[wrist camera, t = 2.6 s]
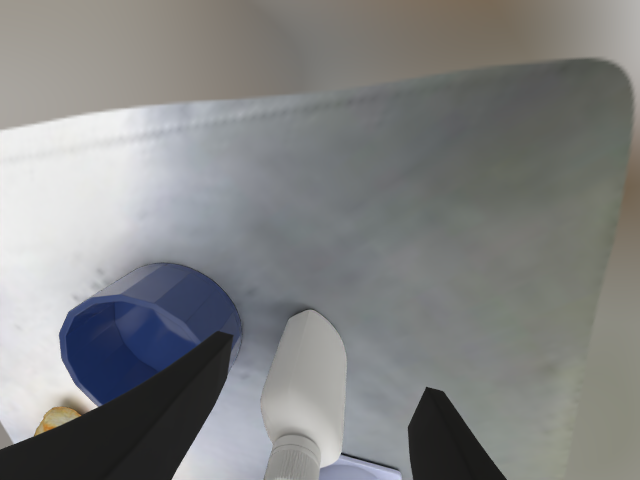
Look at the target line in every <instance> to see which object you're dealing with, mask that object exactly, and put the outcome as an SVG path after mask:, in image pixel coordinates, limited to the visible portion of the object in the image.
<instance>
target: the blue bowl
mask: <svg viewBox="0 0 640 480" xmlns="http://www.w3.org/2000/svg"><path fill="white" fill-rule="evenodd" d="M216 331H220V332H224V333H228V334H231V335H233V342H232V349H231V355H230V362H229V368H228V373H229V371H230V369H231V367H232V365H233V363H234V361H235V360H236V358H237V354H238V351H239V349H240V345H241V341H242V326H241V322H240V318H239V315H238V312H237V310H236V308H235V306H234V304H233V302H232V301H231V300H230V298H229V297H228V295H227V294H226V293H225V292H224V291H223V290H222V289H221V288H220V287H219V286H218V285H217V284H216V283H215V282H214V281H212V280H211V279H210V278H208V277H207V276H205V275H203V274H202V273H200V272H198V271H196V270H193V269H191V268H188V267H185V266H182V265H177V264H170V263H155V264H150V265H146V266H143V267H140V268H137V269H135V270H134V271H132V272H130V273H129V274H127V275H126V276H124V277H122V278H121V279H119V280H117V281H116V282H114V283H113V284H111V285H109V286H108V287H106V288H105V289H103V290H101V291H100V292H98V293H96V294H95V295H93V296H92V297H90V298H88V299H87V300H85V301H84V302H82V303H81V304H79V305H78V306H76V307H75V308H73V309H72V310H70V311H69V312H68V314H67V317H66V319H65V321H64V323H63V326H62V328H61V330H60V333H59V340H60V349H61V359H62V361H63V363H64V365H65V367H66V368H67V370H68V372H69V374H70V376H71V378H72V380H73V382H74V383H75V385H76V386H77V387H78V388H79V389H80V390H81V391H82V392H83V393H84V394H85V395H86V396H87V397H88V398H89V399H90V400H91V401H92V402H93V403H94V404H95V405H97V406H98V407H100V406H102V405H104V404H106V403H107V402H109V401H111V400H113V399H115V398H117V397H119V396H120V395H122V394H124V393H126V392H128V391H129V390H131V389H133V388H134V387H136V386H138V385H140V384H141V383H143V382H144V381H146V380H148V379H149V378H151V377H152V376H154V375H156V374H157V373H159V372H160V371H162V370H163V369H165V368H166V367H168V366H169V365H171V364H172V363H174V362H175V361H177V360H178V359H179V358H181V357H182V356H184V355H185V354H187V353H188V352H189V351H191V350H192V349H193V348H195V347H196V346H197V345H199V344H200V343H201V342H203V341H204V340H205V339H207V338H208V337H209V336H211V335H212V334H213V333H215V332H216Z"/></svg>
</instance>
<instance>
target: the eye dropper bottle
mask: <svg viewBox="0 0 640 480" xmlns="http://www.w3.org/2000/svg"><path fill="white" fill-rule="evenodd" d="M346 374H347V357H346V351H345V348H344V344H343V342H342V339H341V337H340V336H339V334H338V332H337V331H336V329H335V328H334V327H333V326H332V324H331V323H330V322H329V321H328V320H327V319H326V318H324V317H323V316H322V315H321V314H319V313H318V312H316V311H314V310H306V311H303V312H301V313H299V314H297V315H294V316H292V317H291V318H290V319H289V320H288V321H287V324H286V327H285V329H284V332H283V335H282V338H281V340H280V343H279V346H278V348H277V351H276V354H275V357H274V359H273V362H272V365H271V368H270V370H269V373H268V376H267V379H266V382H265V385H264V388H263V391H262V395H261V412H262V417H263V421H264V425H265V428H266V431H267V433H268V436H269V438H270V440H271V442H272V444H273V447H272V451H271V454H270V458H269V462H268V465H267V469H266V473H265V476H264V480H319V472H320V468H322V467H326V466H328V465H331V464H333V463H334V462H336V461H337V460H338V458H339V456H340V454H341V451H342V444H343V431H344V413H345V394H346Z"/></svg>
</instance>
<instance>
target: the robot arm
mask: <svg viewBox="0 0 640 480" xmlns="http://www.w3.org/2000/svg"><path fill="white" fill-rule="evenodd" d="M232 342H233V335H231V334H228V333H224V332H220V331H216V332H215V333H213V334H212V335H211V336H209V337H208V338H207V339H205V340H204V341H203V342H201V343H200V344H199V345H197V346H196V347H195V348H193V349H192V350H191V351H189V352H188V353H187V354H185V355H184V356H182V357H181V358H179V359H178V360H177V361H175V362H174V363H172V364H171V365H169V366H168V367H166V368H165V369H163V370H162V371H160V372H159V373H157V374H156V375H154V376H152V377H151V378H149V379H148V380H146V381H144V382H143V383H141V384H140V385H138V386H136V387H134V388H133V389H131V390H129V391H128V392H126V393H124V394H122V395H120V396H119V397H117V398H115V399H113V400H111V401H109V402H107V403H106V404H104V405H102V406H100V407H98V408H96V409H93V410H91V411H89V412H87V413H85V414H83V415H81V416H79V417H77V418H75V419H73V420H71V421H69V422H66V423H64V424H62V425H60V426H57V427H55V428H53V429H50V430H48V431H45V432H43V433H41V434H38V435H36V436H34V437H31V438H29V439H26V440H24V441H21V442H19V443H16V444H14V445H11V446H8V447H6V448H3V449H1V450H0V480H171V479H172V478H173V476H174V474H175V472H176V470H177V468H178V467H179V465H180V463H181V462H182V460H183V458H184V457H185V455H186V453H187V451H188V450H189V448H190V446H191V445H192V443H193V441H194V440H195V438H196V436H197V434H198V433H199V431H200V429H201V428H202V426H203V424H204V423H205V421H206V419H207V417H208V416H209V414H210V412H211V410H212V409H213V407H214V405H215V403H216V401H217V399H218V397H219V395H220V392H221V390H222V388H223V386H224V383H225V381H226V379H227V375H228V368H229V362H230V355H231V349H232ZM408 437H409V453H410V462H411V468H412V474H413V480H507V479H506V478H505V477H504V475H503V474H502V473H501V471H500V470H499V469H498V468H497V466H496V465H495V464H494V462H493V461H492V460H491V458H490V457H489V456H488V454H487V453H486V451H485V450H484V449H483V447H482V446H481V445H480V443H479V442H478V440H477V439H476V438H475V436H474V435H473V433H472V432H471V430H470V429H469V428H468V426H467V425H466V423H465V422H464V420H463V419H462V417H461V416H460V415H459V413H458V412H457V410H456V409H455V407H454V406H453V404H452V403H451V401H450V400H449V399H448V397H447V396H446V394H445V393H444V392H443V391H440V390H436V389H432V388H429V387H426V389H425V391H424V393H423V395H422V398H421V400H420V402H419V404H418V406H417V408H416V411H415V413H414V415H413V417H412V419H411V422H410V424H409V426H408ZM401 479H402V476H401V473H400V472H399V471H398V470H394V469H391V468H387V467H383V466H380V465H376V464H373V463H369V462H365V461H362V460H358V459H354V458H351V457H347V456H344V455H340V456H339V458H338V460H337V461H336V462H334V463H333V464H331V465H328V466H326V467H322V468H320V472H319V480H401Z"/></svg>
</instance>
